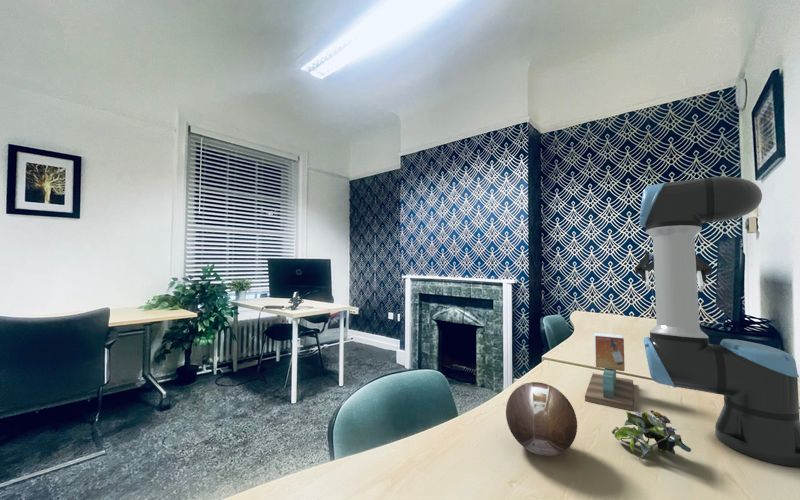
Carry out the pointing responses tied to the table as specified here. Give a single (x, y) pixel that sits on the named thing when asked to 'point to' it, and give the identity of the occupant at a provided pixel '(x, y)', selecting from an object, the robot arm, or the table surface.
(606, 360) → the small box
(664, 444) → the green leafy plant
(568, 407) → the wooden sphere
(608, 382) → the ridge stand
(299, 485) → the table surface
